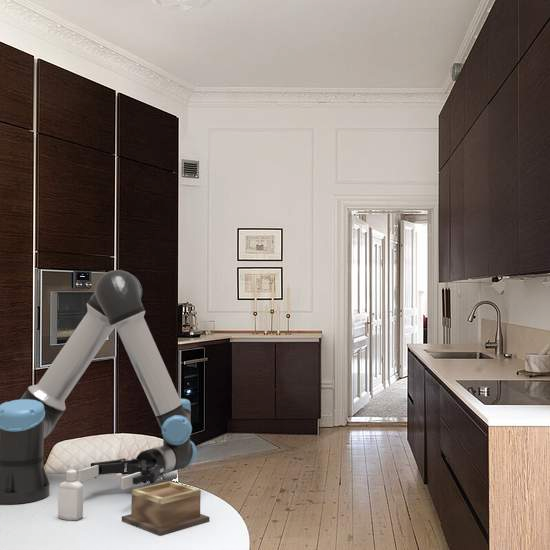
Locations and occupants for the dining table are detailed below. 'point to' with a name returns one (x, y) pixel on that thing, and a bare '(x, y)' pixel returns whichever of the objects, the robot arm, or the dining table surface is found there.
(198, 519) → the display pedestal
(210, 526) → the dining table surface
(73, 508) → the eye dropper bottle
